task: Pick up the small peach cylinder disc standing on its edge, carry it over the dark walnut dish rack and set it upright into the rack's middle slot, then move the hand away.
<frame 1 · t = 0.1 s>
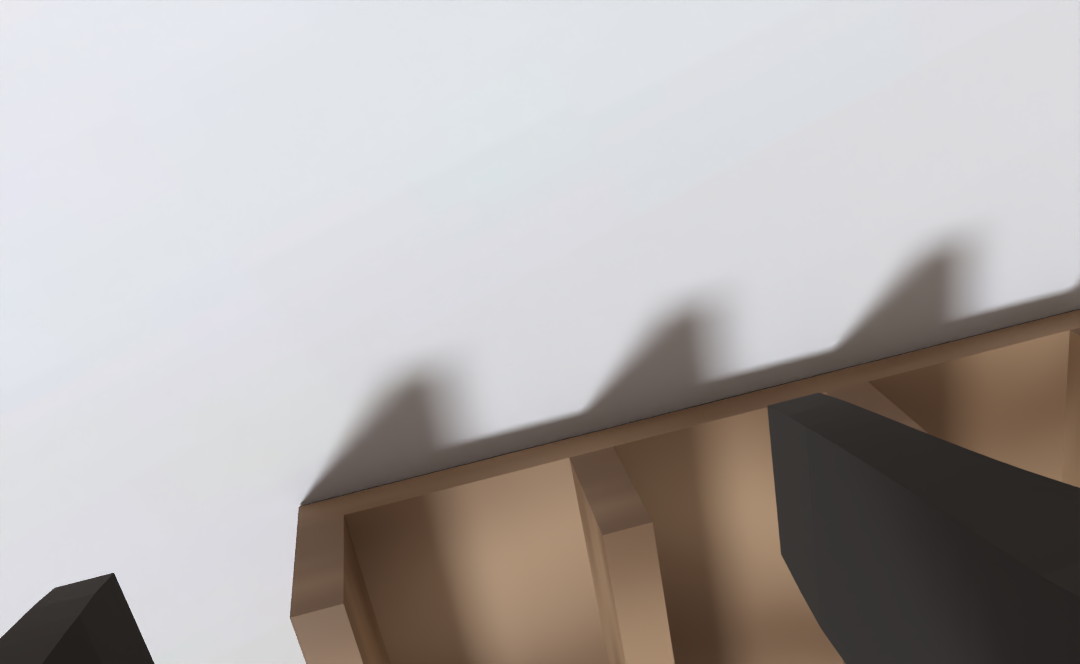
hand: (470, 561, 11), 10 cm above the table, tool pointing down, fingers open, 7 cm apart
rack: (736, 637, 25), on the table
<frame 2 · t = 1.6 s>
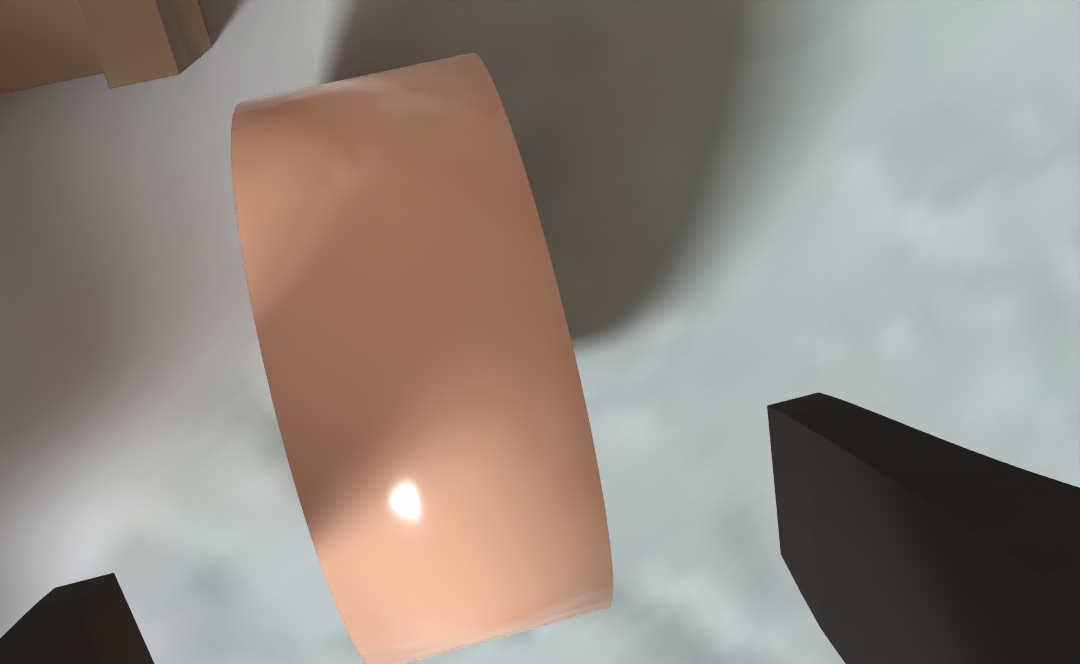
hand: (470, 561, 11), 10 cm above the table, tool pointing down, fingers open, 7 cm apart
peach cylinder disc: (411, 270, 20), on the table
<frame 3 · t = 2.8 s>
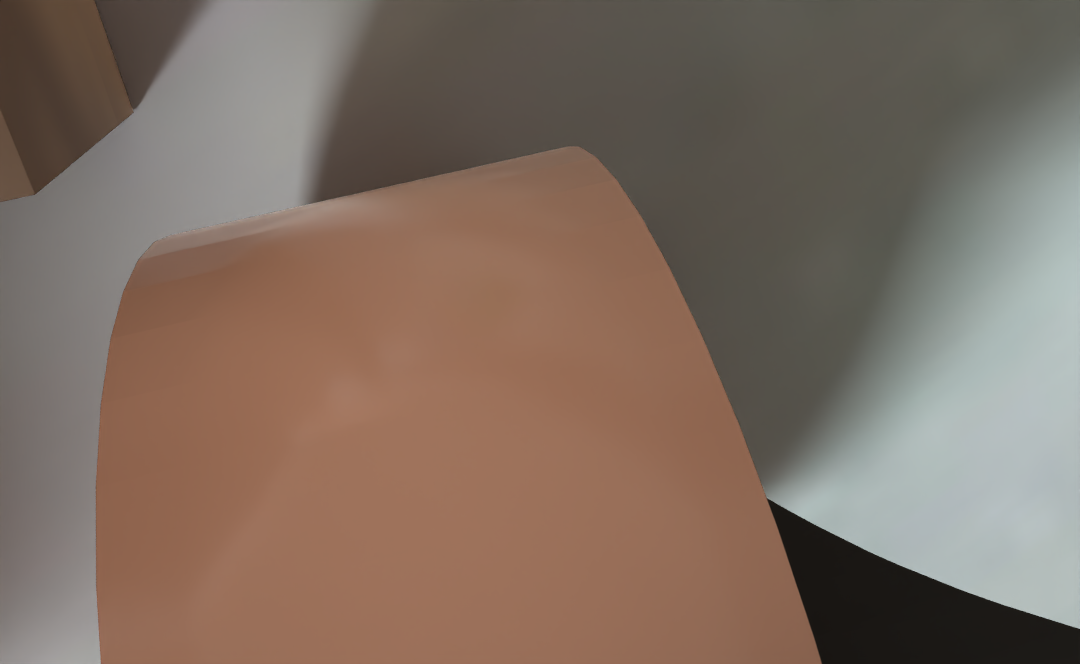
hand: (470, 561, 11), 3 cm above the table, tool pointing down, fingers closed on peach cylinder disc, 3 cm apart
peach cylinder disc: (445, 435, 13), on the table, touching gripper
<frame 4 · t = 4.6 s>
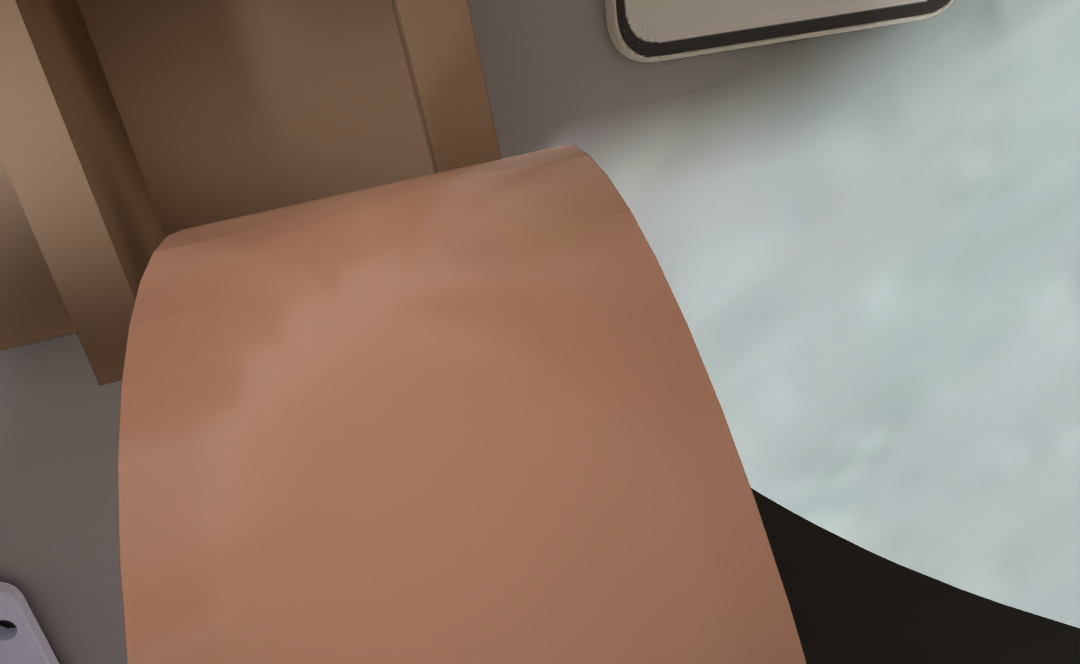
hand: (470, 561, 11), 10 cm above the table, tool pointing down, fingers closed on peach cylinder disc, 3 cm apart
peach cylinder disc: (445, 427, 14), point 7 cm above the table, touching gripper
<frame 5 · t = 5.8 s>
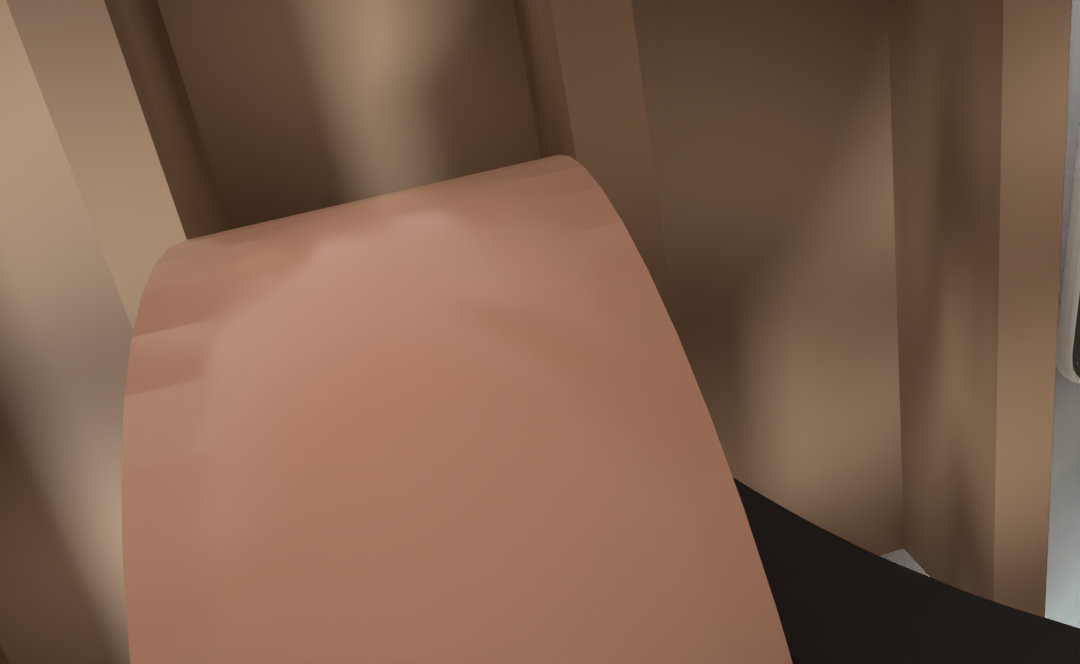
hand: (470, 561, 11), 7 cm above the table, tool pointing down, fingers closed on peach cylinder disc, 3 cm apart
rack: (423, 325, 17), on the table
peach cylinder disc: (445, 431, 14), point 4 cm above the table, touching gripper
when the fingers open (5 cm above the table, at t = 6.5 s): peach cylinder disc drops 1 cm, resting on rack.
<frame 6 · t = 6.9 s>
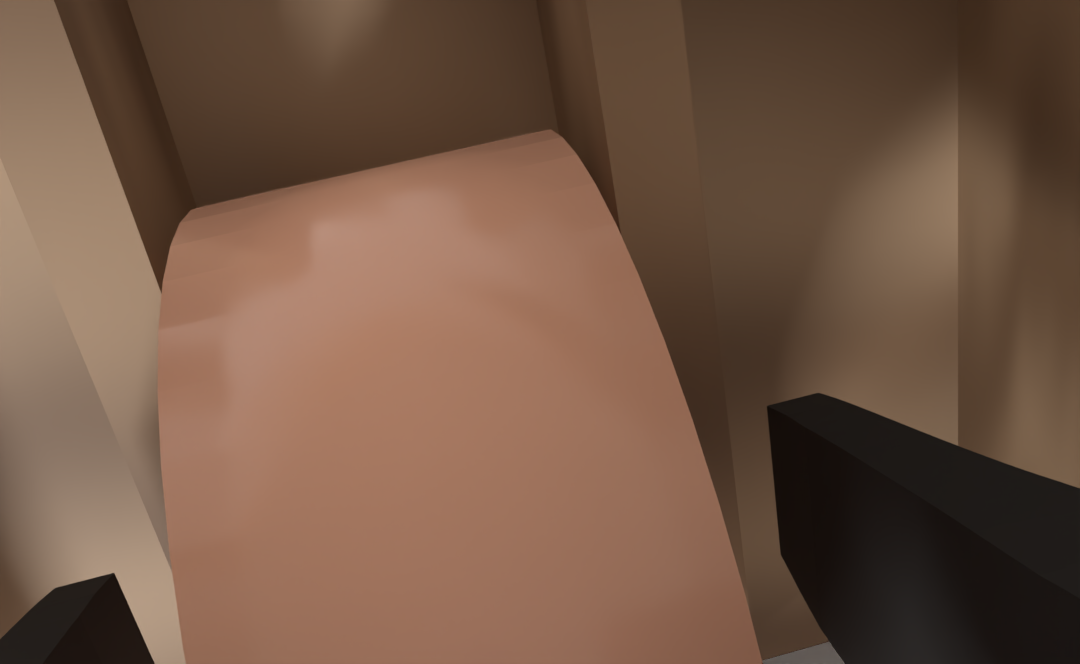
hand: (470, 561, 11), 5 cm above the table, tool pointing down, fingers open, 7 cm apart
rack: (432, 367, 15), on the table
peach cylinder disc: (440, 396, 15), point 1 cm above the table, touching rack
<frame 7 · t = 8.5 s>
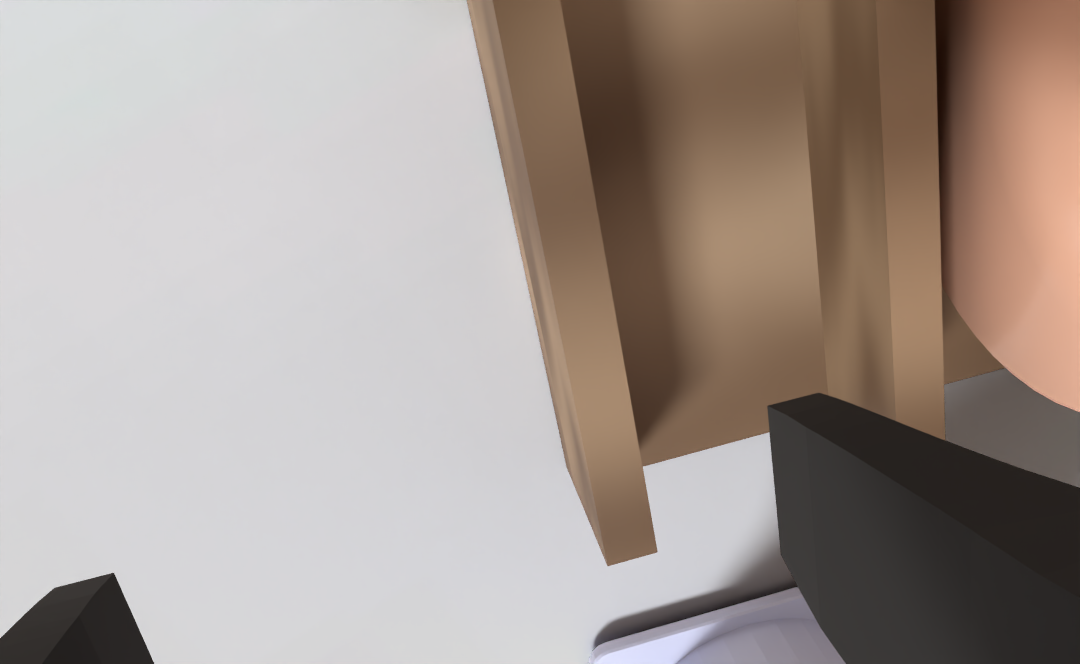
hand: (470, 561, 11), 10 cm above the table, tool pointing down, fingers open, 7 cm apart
rack: (947, 64, 20), on the table
peach cylinder disc: (971, 76, 19), point 1 cm above the table, touching rack
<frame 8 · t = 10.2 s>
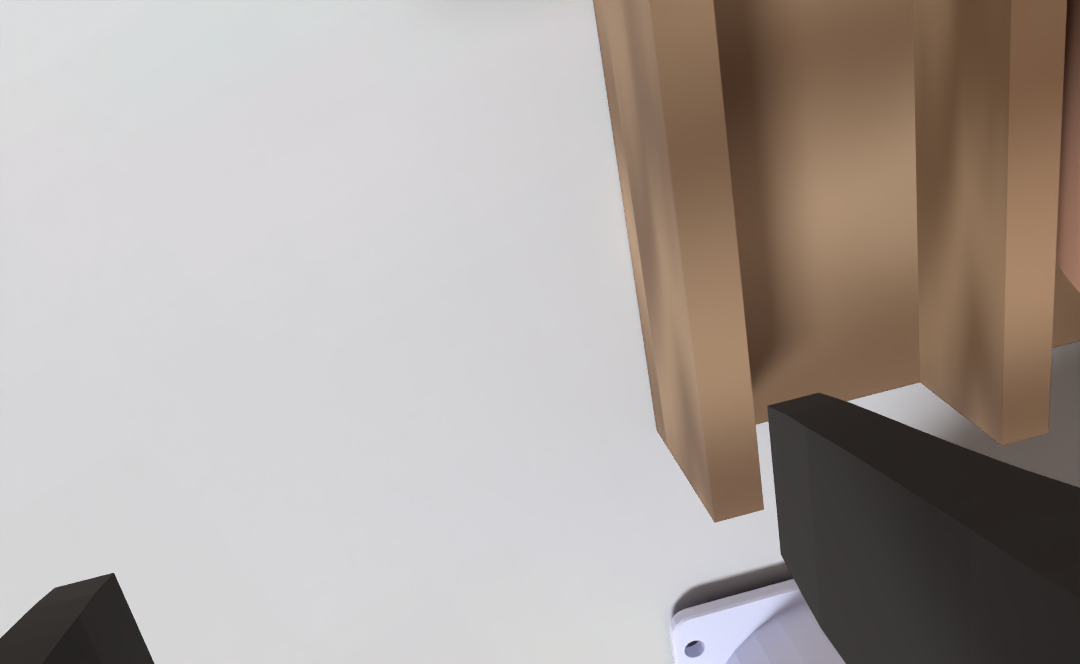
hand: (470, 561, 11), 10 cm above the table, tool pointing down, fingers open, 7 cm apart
rack: (1049, 31, 20), on the table
peach cylinder disc: (1077, 42, 19), point 1 cm above the table, touching rack
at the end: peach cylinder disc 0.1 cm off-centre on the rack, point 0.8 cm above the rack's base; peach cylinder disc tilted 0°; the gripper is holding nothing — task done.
